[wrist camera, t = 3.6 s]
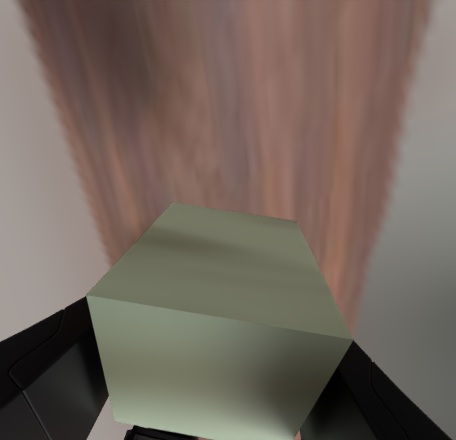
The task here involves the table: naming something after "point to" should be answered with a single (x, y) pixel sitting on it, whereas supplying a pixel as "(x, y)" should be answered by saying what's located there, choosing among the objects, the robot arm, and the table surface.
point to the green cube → (217, 326)
